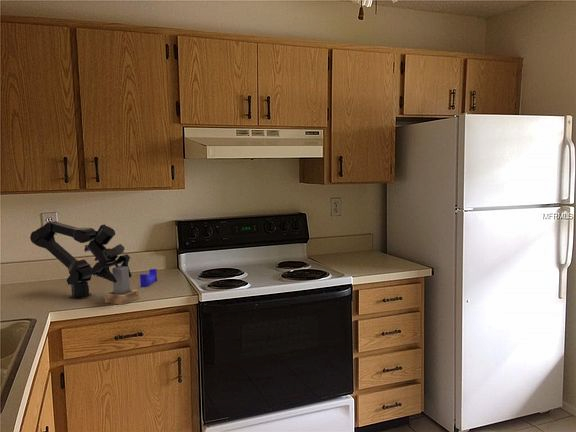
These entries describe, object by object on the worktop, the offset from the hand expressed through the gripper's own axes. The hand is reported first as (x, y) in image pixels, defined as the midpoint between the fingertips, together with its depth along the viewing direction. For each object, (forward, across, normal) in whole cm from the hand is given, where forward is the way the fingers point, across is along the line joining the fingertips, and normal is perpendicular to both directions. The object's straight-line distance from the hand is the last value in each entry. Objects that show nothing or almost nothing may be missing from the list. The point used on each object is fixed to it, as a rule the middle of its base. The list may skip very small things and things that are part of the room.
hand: (123, 279), depth 198 cm
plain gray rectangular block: (+5, 0, +7) cm, 8 cm away
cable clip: (+1, +27, +12) cm, 29 cm away
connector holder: (+5, 0, +7) cm, 9 cm away
